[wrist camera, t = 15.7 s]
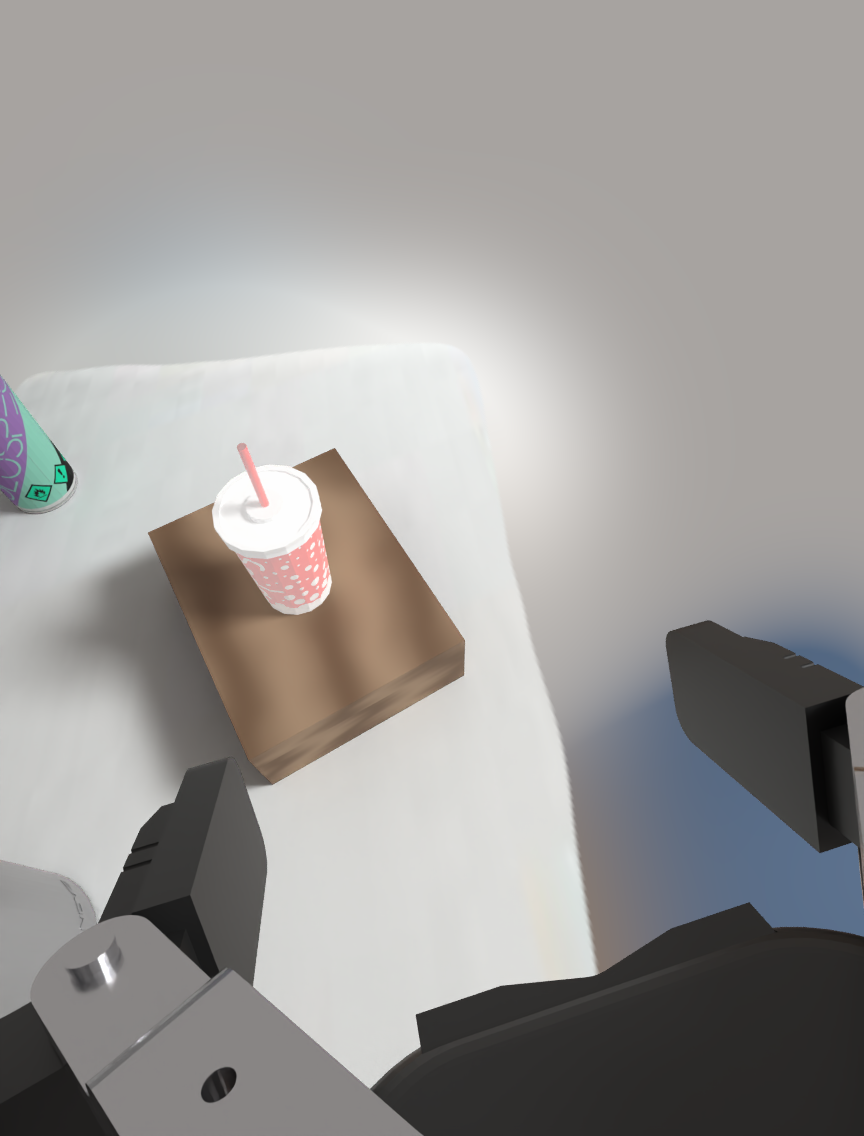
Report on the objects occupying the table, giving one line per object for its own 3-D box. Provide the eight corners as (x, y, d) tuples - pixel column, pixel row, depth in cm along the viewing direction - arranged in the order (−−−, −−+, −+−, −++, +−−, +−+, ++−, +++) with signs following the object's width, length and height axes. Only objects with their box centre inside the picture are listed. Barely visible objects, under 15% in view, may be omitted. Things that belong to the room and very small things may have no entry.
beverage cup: (240, 569, 46) (165, 428, 34) (322, 534, 48) (277, 386, 36) (271, 640, 43) (201, 514, 31) (357, 601, 45) (321, 465, 33)
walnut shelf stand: (272, 784, 45) (248, 760, 39) (177, 574, 53) (147, 532, 48) (463, 675, 48) (464, 640, 43) (345, 495, 57) (334, 447, 52)
